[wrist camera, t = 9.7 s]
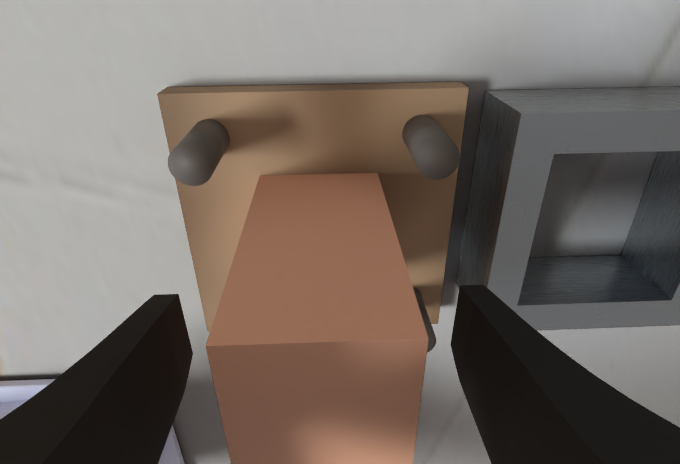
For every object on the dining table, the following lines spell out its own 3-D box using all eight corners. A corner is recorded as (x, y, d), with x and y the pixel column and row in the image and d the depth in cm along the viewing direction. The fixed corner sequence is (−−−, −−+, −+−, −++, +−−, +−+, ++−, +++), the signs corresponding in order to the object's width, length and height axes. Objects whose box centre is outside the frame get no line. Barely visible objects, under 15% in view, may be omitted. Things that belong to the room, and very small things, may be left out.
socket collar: (456, 283, 19) (478, 332, 16) (485, 90, 15) (521, 113, 12) (639, 277, 19) (691, 324, 16) (717, 86, 15) (801, 107, 12)
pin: (270, 272, 17) (234, 478, 10) (259, 175, 15) (205, 345, 8) (373, 269, 17) (412, 470, 10) (377, 172, 15) (428, 338, 8)
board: (213, 315, 19) (192, 379, 16) (167, 87, 14) (125, 115, 11) (432, 308, 19) (453, 369, 16) (459, 81, 14) (497, 107, 11)
